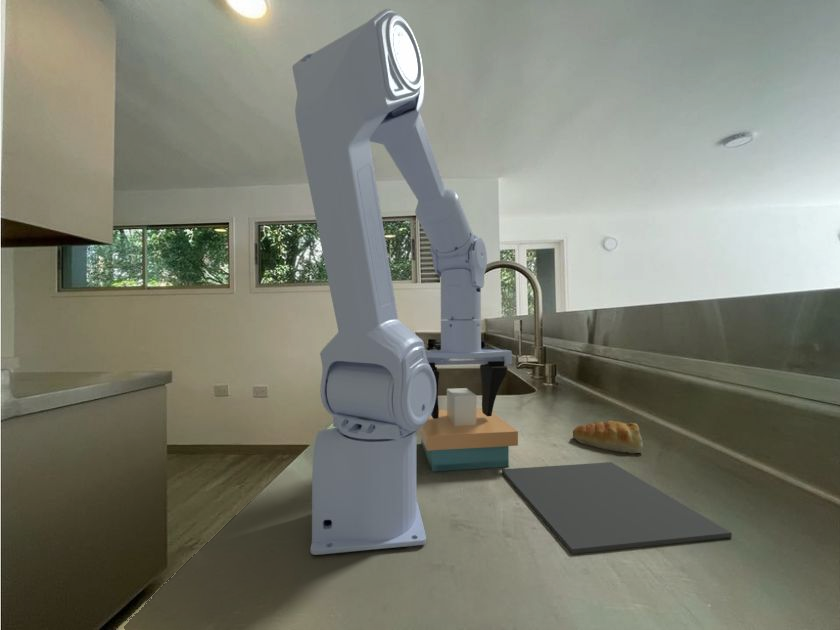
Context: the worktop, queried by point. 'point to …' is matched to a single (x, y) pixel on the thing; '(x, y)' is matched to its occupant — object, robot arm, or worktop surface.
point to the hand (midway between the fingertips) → (461, 415)
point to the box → (467, 458)
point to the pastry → (610, 436)
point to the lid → (465, 426)
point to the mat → (608, 508)
